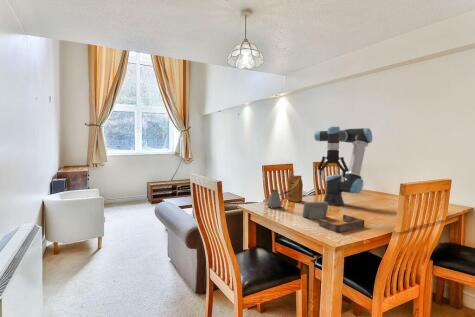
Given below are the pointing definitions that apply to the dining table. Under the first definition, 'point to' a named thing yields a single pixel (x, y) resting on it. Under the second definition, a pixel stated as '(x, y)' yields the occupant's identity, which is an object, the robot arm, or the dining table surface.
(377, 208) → the dining table surface
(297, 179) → the coffee package
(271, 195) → the coffee pot
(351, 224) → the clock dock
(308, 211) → the digital clock
